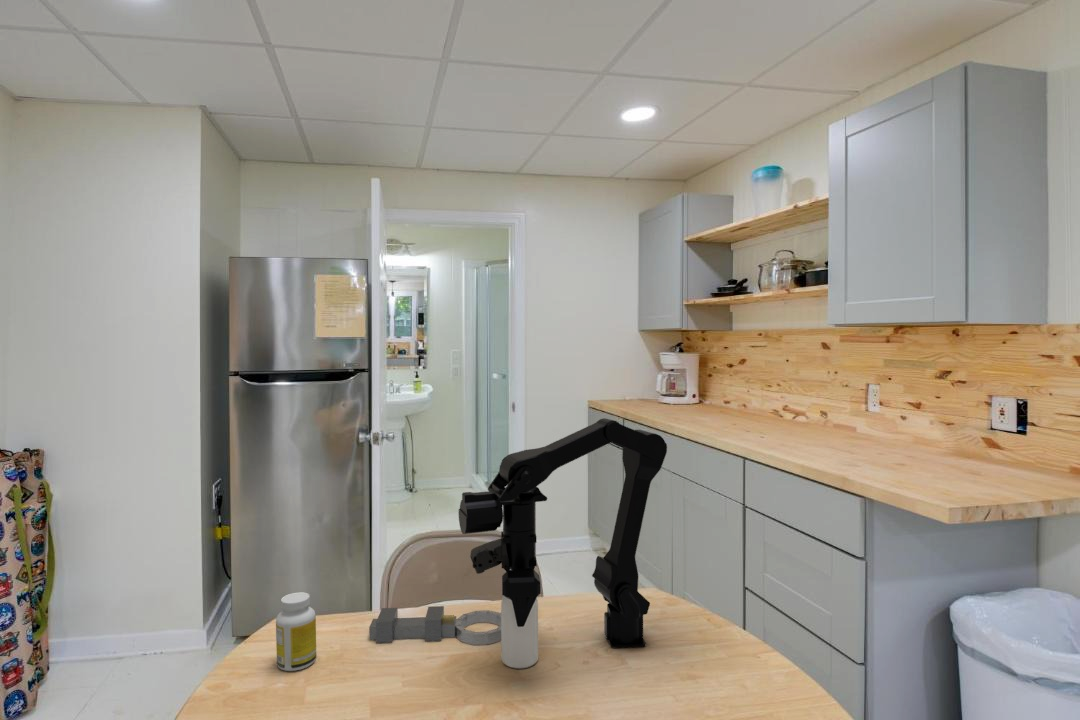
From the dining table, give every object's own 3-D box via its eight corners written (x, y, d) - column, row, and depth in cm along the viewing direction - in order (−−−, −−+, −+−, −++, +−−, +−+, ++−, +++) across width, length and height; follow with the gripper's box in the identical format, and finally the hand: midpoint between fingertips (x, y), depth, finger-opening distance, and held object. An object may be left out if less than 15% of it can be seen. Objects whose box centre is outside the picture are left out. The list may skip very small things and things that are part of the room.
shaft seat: (507, 619, 123) (507, 599, 123) (508, 643, 113) (507, 622, 113) (376, 623, 121) (376, 604, 121) (365, 649, 111) (365, 627, 111)
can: (539, 651, 110) (539, 586, 110) (536, 671, 104) (535, 601, 103) (504, 650, 111) (504, 585, 111) (498, 669, 104) (498, 600, 104)
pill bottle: (324, 658, 108) (323, 593, 108) (296, 676, 102) (294, 608, 102) (297, 650, 111) (296, 587, 111) (268, 667, 105) (267, 601, 105)
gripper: (475, 513, 115) (475, 594, 116) (470, 546, 97) (471, 643, 97) (533, 512, 116) (534, 593, 117) (540, 544, 98) (540, 640, 98)
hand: (519, 615), depth 107 cm, fingers open, 8 cm apart
